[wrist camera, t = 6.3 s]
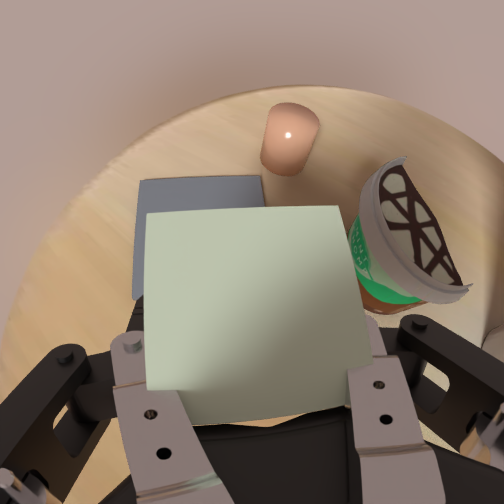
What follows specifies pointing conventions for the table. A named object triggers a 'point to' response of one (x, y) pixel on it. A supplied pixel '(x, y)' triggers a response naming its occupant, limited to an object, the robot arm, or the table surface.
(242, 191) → the plate
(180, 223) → the sage block
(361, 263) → the food container
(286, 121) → the peach pillar candle
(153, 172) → the table surface
